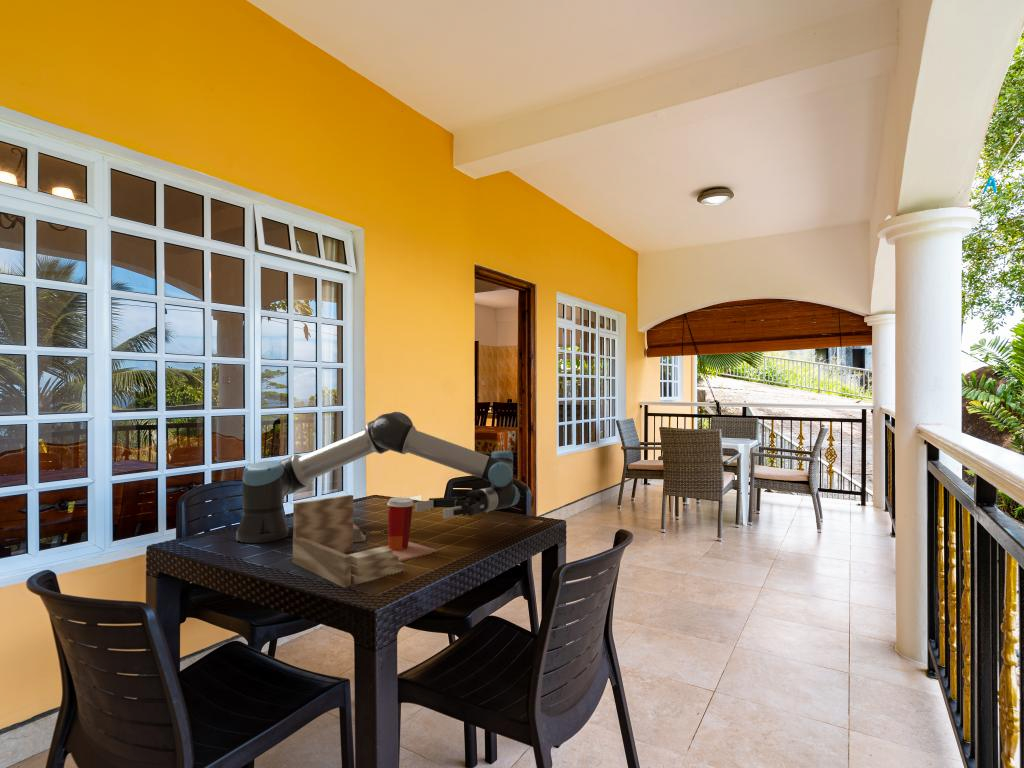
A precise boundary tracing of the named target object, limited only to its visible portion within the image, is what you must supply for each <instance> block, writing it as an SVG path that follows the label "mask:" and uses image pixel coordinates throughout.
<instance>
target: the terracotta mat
mask: <svg viewBox="0 0 1024 768" xmlns="http://www.w3.org/2000/svg"><path fill="white" fill-rule="evenodd" d="M383 547H386V548H389V547H388V545H384V546H383ZM435 551H438V550H437V549H434V548H431V547H427V546H425V545H421V544H419V543H415V542H412V541H409V542H408V548H407V549H405V550H393V555H395V556H398V562H401V563H402V562H404V561H408V560H411V559H416V558H419V556H420V557H423V556H422V555H424V556H426V555H425V554H427V555H430V554H429V553H431V554H433V553H432V552H435ZM435 553H436V552H435Z"/></svg>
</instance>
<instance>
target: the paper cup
mask: <svg viewBox="0 0 1024 768" xmlns="http://www.w3.org/2000/svg"><path fill="white" fill-rule="evenodd" d="M386 505H387V510H388V511H387V515H388V516H387V520H388V521H387V522H388V523H387V525H388V527H387V535H388V536H387V537H388V538H387V540H388V541H387V542H388V545H387V546H388V547H389V549H392V550H405V549H407V548H408V542H410V533H411V526H412V516H413V515H412V514H413V507H414V506H415V503H414V500H413V499H411V498H410V497H406V496H405V497H404V496H403V497H401V496H398V497H397V496H396V497H390V498H389V500H388V502H387V503H386Z"/></svg>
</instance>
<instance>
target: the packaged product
mask: <svg viewBox="0 0 1024 768" xmlns="http://www.w3.org/2000/svg"><path fill="white" fill-rule="evenodd" d="M366 541H367V536H366V535H365V534H364V533H363V532H362V531H361V529H360V527H359V526H358V525H357V524H356V523H354V521H353V543H359V542H366Z"/></svg>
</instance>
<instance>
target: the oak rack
mask: <svg viewBox="0 0 1024 768" xmlns="http://www.w3.org/2000/svg"><path fill="white" fill-rule="evenodd" d="M292 504H293V507H292V508H293V514H292V515H293V517H292V519H293V522H292V523H293V526H292V527H293V529H292V530H293V533H292V564H295V566H296V565H297V566H299V567H301V568H302V569H305V570H307V571H309V572H310V573H313V574H315V575H317V576H319V577H322V578H323V579H326V580H328V581H329V582H331V583H334V584H335V585H338V586H339V587H342V588H344V589H345V588H348V587H349V588H350V587H351V585H352V584H351V556H349V555H348V554H346V553H349V552H353V551H354V542H353V522H354V494H353V495H352V494H346V495H340V496H333V497H326V498H321V499H320V498H319V499H314V500H313V499H312V500H306V501H299V502H293V503H292Z"/></svg>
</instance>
